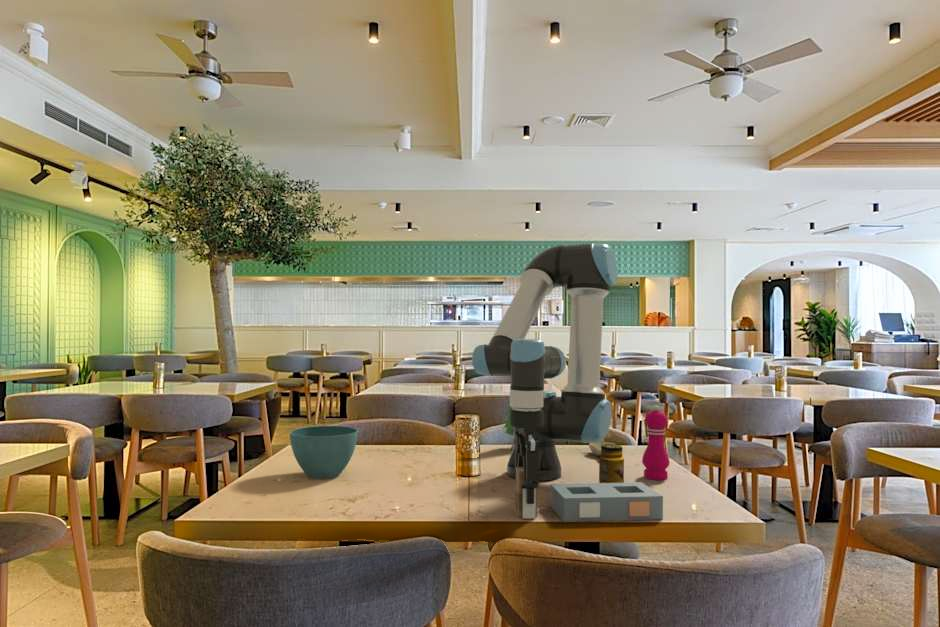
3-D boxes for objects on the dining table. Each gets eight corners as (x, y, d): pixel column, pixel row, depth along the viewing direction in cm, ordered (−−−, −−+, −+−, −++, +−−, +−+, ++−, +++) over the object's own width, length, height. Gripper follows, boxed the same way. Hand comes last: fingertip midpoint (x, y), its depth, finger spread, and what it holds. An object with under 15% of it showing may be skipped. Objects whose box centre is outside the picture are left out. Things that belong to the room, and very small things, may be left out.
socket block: (564, 522, 134) (564, 499, 134) (550, 505, 147) (550, 484, 147) (663, 520, 137) (664, 496, 137) (641, 503, 149) (641, 482, 149)
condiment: (630, 496, 155) (630, 447, 155) (598, 498, 153) (598, 449, 153) (616, 489, 162) (617, 442, 162) (586, 490, 160) (586, 443, 160)
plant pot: (276, 475, 173) (276, 430, 173) (332, 464, 186) (332, 423, 186) (313, 487, 160) (314, 439, 160) (370, 475, 174) (371, 430, 174)
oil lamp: (611, 449, 214) (611, 419, 214) (622, 463, 193) (622, 430, 193) (585, 448, 214) (585, 419, 215) (593, 462, 193) (593, 429, 193)
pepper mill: (670, 481, 171) (671, 407, 171) (643, 479, 172) (643, 406, 173) (667, 475, 178) (668, 403, 178) (641, 473, 179) (641, 403, 180)
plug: (518, 517, 138) (519, 471, 138) (515, 511, 142) (515, 467, 142) (536, 516, 138) (537, 470, 138) (532, 511, 142) (533, 466, 142)
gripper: (554, 414, 131) (553, 526, 131) (534, 403, 150) (533, 500, 150) (518, 415, 130) (517, 527, 130) (502, 403, 149) (501, 501, 149)
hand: (525, 512), depth 140 cm, fingers open, 6 cm apart
